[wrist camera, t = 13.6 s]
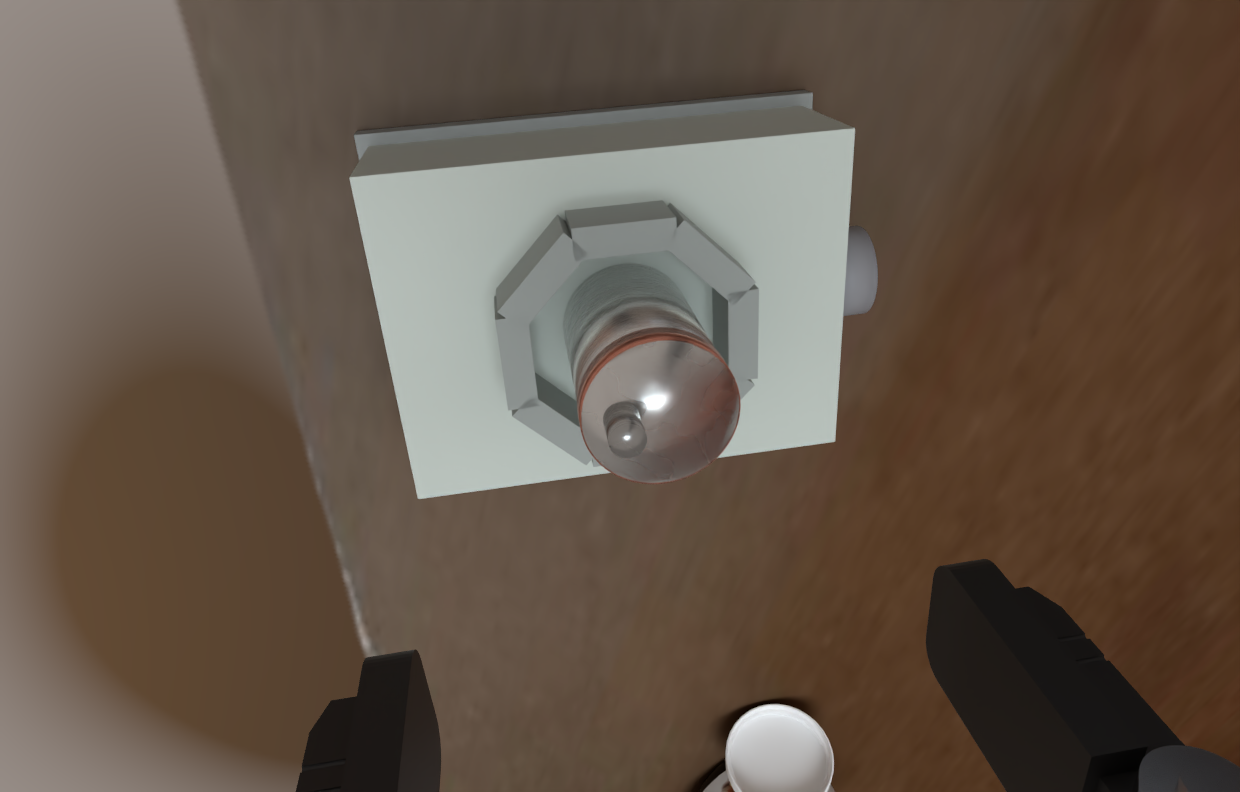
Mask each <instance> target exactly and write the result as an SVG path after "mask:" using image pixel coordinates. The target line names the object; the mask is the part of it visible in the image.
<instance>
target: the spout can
mask: <svg viewBox="0 0 1240 792" xmlns="http://www.w3.org/2000/svg"><path fill="white" fill-rule="evenodd" d="M563 333H564V339H565V344H566V349H567V355H568V360H569V365H570V370H571V375H572V380H573V385H574V390H575V395H576V400H577V412H578V418H579V424H580V429H581V433H582V437H583V440H584V442H585V444H586V447H587V449H588V450H589V452H590V453H591V455H592V456H593V458H594V459H595V460H596V461H597V462H598V463H599V464H600V465H601V466H602V467H604V468H605V469H606V470H608V471H609V472H611V473H612V474H614V475H616V476H618V477H620V478H622V479H625V480H629V481H632V482H637V483H642V484H663V483H669V482H674V481H678V480H681V479H684V478H687V477H689V476H692V475H693V474H695V473H697V472H699V471H701V470H702V469H704V468H705V467H707V466H708V465H710V464H711V463H712V462H713V461H714V460H715V459H717V457H718V456H719V455H720V454H721V453H722V452H723V451H724V450H725V448H726V447H727V445H728V444H729V443H730V441H731V439H732V437H733V435H734V433H735V430H736V428H737V425H738V421H739V417H740V408H741V403H740V394H739V388H738V385H737V383H736V380H735V378H734V376H733V374H732V372H731V370H730V369H729V367H728V366H727V364H726V362H725V361H724V359H723V358H722V356H721V355H720V354H719V352H718V351H717V350H716V349H715V347H714V345H713V344H712V342H711V340H710V339H709V337H708V335H707V334H706V332H705V330H704V329H703V327H702V325H701V324H700V322H699V320H698V319H697V317H696V315H695V314H694V312H693V310H692V309H691V307H690V306H689V304H688V302H687V301H686V299H685V297H684V296H683V294H682V292H681V291H680V289H679V288H678V286H677V285H676V284H675V283H674V282H673V281H672V280H671V279H670V278H669V277H668V276H666V275H665V274H664V273H662V272H660V271H659V270H657V269H654V268H652V267H649V266H646V265H642V264H633V263H626V264H617V265H613V266H609V267H606V268H604V269H601V270H599V271H597V272H596V273H594V274H592V275H591V276H589V277H588V278H587V279H585V280H584V281H583V282H582V283H581V284H580V285H579V286H578V288H577V289H576V290H575V291H574V293H573V294H572V296H571V298H570V299H569V302H568V304H567V306H566V310H565V313H564V319H563Z"/></svg>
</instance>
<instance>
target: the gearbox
mask: <svg viewBox="0 0 1240 792" xmlns="http://www.w3.org/2000/svg"><path fill="white" fill-rule="evenodd" d="M812 101H813V93H812V92H809V91H807V90H798V91H787V92H776V93H765V94H755V95H744V96H733V97H722V98H711V99H700V100H689V101H678V102H667V103H657V104H646V105H635V106H624V107H613V108H602V109H591V110H580V111H569V112H559V113H548V114H537V115H526V116H515V117H504V118H493V119H482V120H471V121H460V122H450V123H439V124H428V125H417V126H406V127H395V128H384V129H373V130H362V131H357V132H356V133H355V134H354V138H355V143H356V148H357V153H358V157H359V163H358V164H357V166H356V167H355V169H354V171H353V172H352V174H351V176H350V177H349V178H350V183H351V187H352V192H353V197H354V201H355V206H356V211H357V215H358V220H359V225H360V229H361V234H362V239H363V243H364V248H365V253H366V258H367V262H368V267H369V272H370V276H371V281H372V286H373V290H374V295H375V300H376V304H377V309H378V314H379V318H380V323H381V328H382V332H383V337H384V342H385V346H386V351H387V356H388V360H389V365H390V370H391V374H392V379H393V384H394V388H395V393H396V398H397V402H398V407H399V412H400V417H401V421H402V426H403V431H404V435H405V440H406V445H407V449H408V454H409V459H410V463H411V468H412V473H413V477H414V482H415V487H416V491H417V496H418V499H423V498H430V497H437V496H445V495H452V494H459V493H466V492H474V491H481V490H488V489H495V488H503V487H510V486H517V485H524V484H532V483H539V482H546V481H553V480H561V479H568V478H575V477H582V476H590V475H597V474H604V473H611V472H609V471H608V470H606V469H605V468H604V467H602V466H601V465H600V464H599V463H598V462H597V461H596V460H595V459H594V458H593V456H592V455H591V453H590V452H589V450H588V449H587V447H586V444H585V442H584V440H583V437H582V433H581V429H580V424H579V418H578V412H577V400H576V395H575V390H574V385H573V380H572V375H571V370H570V365H569V360H568V355H567V349H566V344H565V339H564V333H563V319H564V313H565V310H566V306H567V304H568V302H569V299H570V298H571V296H572V294H573V293H574V291H575V290H576V289H577V288H578V286H579V285H580V284H581V283H582V282H583V281H584V280H585V279H587V278H588V277H589V276H591V275H592V274H594V273H596V272H597V271H599V270H601V269H604V268H606V267H609V266H613V265H617V264H626V263H633V264H642V265H646V266H649V267H652V268H654V269H657V270H659V271H660V272H662V273H664V274H665V275H666V276H668V277H669V278H670V279H671V280H672V281H673V282H674V283H675V284H676V285H677V286H678V288H679V289H680V291H681V292H682V294H683V296H684V297H685V299H686V301H687V302H688V304H689V306H690V307H691V309H692V310H693V312H694V314H695V315H696V317H697V319H698V320H699V322H700V324H701V325H702V327H703V329H704V330H705V332H706V334H707V335H708V337H709V339H710V340H711V342H712V344H713V345H714V347H715V349H716V350H717V351H718V352H719V354H720V355H721V356H722V358H723V359H724V361H725V362H726V364H727V366H728V367H729V369H730V370H731V372H732V374H733V376H734V378H735V380H736V383H737V385H738V388H739V394H740V403H741V408H740V417H739V421H738V425H737V428H736V430H735V433H734V435H733V437H732V439H731V441H730V443H729V444H728V445H727V447H726V448H725V450H724V451H723V452H722V453H721V454H720V455H719V456H718V457H717V458H720V457H727V456H735V455H742V454H749V453H756V452H764V451H771V450H778V449H785V448H793V447H800V446H807V445H814V444H822V443H829V442H835V434H836V419H837V403H838V388H839V372H840V356H841V341H842V325H843V316H847V315H855V314H863V313H866V312H868V311H869V310H870V308H871V307H872V305H873V303H874V300H875V296H876V291H877V282H878V270H877V260H876V255H875V250H874V247H873V244H872V241H871V239H870V237H869V235H868V233H867V232H866V231H865V229H863V228H862V227H860V226H850V227H849V216H850V201H851V185H852V169H853V154H854V138H855V128H853V127H851V126H849V125H846V124H844V123H842V122H839V121H837V120H835V119H832V118H830V117H827V116H825V115H823V114H820V113H818V112H816V111H813V110H812Z"/></svg>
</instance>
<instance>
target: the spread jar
mask: <svg viewBox="0 0 1240 792" xmlns="http://www.w3.org/2000/svg"><path fill="white" fill-rule="evenodd" d="M833 772H834V758H833V751H832V748H831V745H830V742H829V739H828V738H827V736H826V734H825V732H824V731H823V729H822V728H821V727H820V726H819V724H818V723H817V722H816V721H815V720H814V719H812V718H811V717H810V716H809V715H808V714H806V713H804V712H803V711H801V710H799V709H797V708H794V707H791V706H789V705H783V704H766V705H761V706H758V707H755V708H753V709H751V710H749V711H748V712H746V713H745V714H743V715H742V716H741V717H740V718H739V719H738V720H737V721H736V722H735V724H734V726H733V727H732V729H731V731H730V733H729V736H728V739H727V743H726V751H725V761H724V762H722V763H721V764H720V765H719V766H718V767H716V768H715V769H714V771H713V772H712V773H711V774H710V775H709V776H708V778H707V779H706V780H705V782H704V783H703V784H702V786H701V788H700V789H699V791H698V792H835V791H834V789H833V787H832V786H831V784H830V783H831V780H832V776H833Z"/></svg>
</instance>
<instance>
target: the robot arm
mask: <svg viewBox="0 0 1240 792" xmlns="http://www.w3.org/2000/svg"><path fill="white" fill-rule="evenodd" d="M926 648H927V654H928V659H929V662H930V665H931V668H932V671H933V673H934V675H935V677H936V679H937V681H938V683H939V684H940V686H941V687H942V689H943V691H944V692H945V694H946V695H947V697H948V699H949V700H950V702H951V703H952V705H953V707H954V708H955V710H956V711H957V713H958V715H959V716H960V718H961V719H962V721H963V722H964V724H965V726H966V727H967V729H968V730H969V732H970V734H971V735H972V737H973V738H974V740H975V742H976V743H977V745H978V746H979V748H980V750H981V751H982V753H983V754H984V756H985V758H986V759H987V761H988V762H989V764H990V766H991V767H992V769H993V770H994V772H995V774H996V775H997V777H998V778H999V780H1000V782H1001V783H1002V785H1003V786H1004V788H1005V790H1006V791H1007V792H1240V768H1239V767H1238V766H1237V765H1235V764H1233V763H1232V762H1230V761H1228V760H1227V759H1225V758H1223V757H1221V756H1218V755H1216V754H1214V753H1211V752H1209V751H1206V750H1203V749H1199V748H1195V747H1191V746H1185V745H1184V744H1183V743H1182V742H1181V741H1180V740H1179V739H1178V738H1177V736H1176V735H1175V734H1174V733H1173V732H1172V731H1171V730H1170V729H1169V727H1168V726H1167V725H1166V724H1165V723H1164V722H1163V721H1162V720H1161V718H1160V717H1159V716H1158V715H1157V714H1156V713H1155V712H1154V711H1153V709H1152V708H1151V707H1150V706H1149V705H1148V704H1147V703H1146V702H1145V700H1144V699H1143V698H1142V697H1141V696H1140V695H1139V694H1138V693H1137V691H1136V690H1135V689H1134V688H1133V687H1132V686H1131V685H1130V684H1129V682H1128V681H1127V680H1126V679H1125V678H1124V677H1123V676H1122V675H1121V673H1120V672H1119V671H1118V670H1117V669H1116V668H1115V667H1114V666H1113V664H1112V663H1111V662H1110V661H1106V660H1105V658H1104V654H1103V653H1102V652H1101V651H1100V650H1099V649H1098V648H1097V646H1096V645H1095V644H1094V643H1093V642H1092V641H1091V640H1090V639H1086V637H1085V633H1084V632H1083V631H1082V630H1081V628H1080V627H1079V626H1078V625H1077V624H1076V623H1075V622H1074V621H1073V619H1072V618H1071V617H1070V616H1069V615H1068V614H1067V613H1066V612H1065V610H1064V609H1063V608H1062V607H1060V606H1059V605H1057V604H1056V603H1054V602H1052V601H1051V600H1049V599H1048V598H1046V597H1044V596H1043V595H1041V594H1040V593H1038V592H1037V591H1035V590H1033V589H1032V588H1030V587H1023V588H1017V589H1015V588H1014V587H1013V585H1012V584H1011V583H1010V582H1009V581H1008V579H1007V578H1006V577H1005V576H1004V575H1003V573H1002V572H1001V571H1000V570H999V569H998V568H997V566H996V565H995V564H994V563H993V562H991V561H990V560H987V559H981V560H975V561H969V562H962V563H956V564H950V565H944V566H939V567H938V568H937V569H936V570H935V573H934V577H933V584H932V592H931V601H930V609H929V617H928V626H927V634H926ZM440 771H441V746H440V735H439V728H438V722H437V718H436V714H435V710H434V706H433V703H432V699H431V695H430V691H429V688H428V684H427V680H426V676H425V673H424V669H423V665H422V661H421V658H420V655H419V653H418V651H417V650H410V651H404V652H398V653H392V654H386V655H380V656H373V657H367V658H366V659H365V660H364V662H363V666H362V671H361V677H360V682H359V688H358V694H357V696H356V697H350V698H344V699H339V700H332V701H330V703H329V705H328V706H327V707H326V709H325V710H324V712H323V713H322V715H321V716H320V718H319V719H318V721H317V722H316V724H315V725H314V727H313V728H312V730H311V731H310V733H309V737H308V741H307V746H306V750H305V754H304V759H303V763H302V773H300V776H299V780H298V785H297V789H296V792H439V788H440Z"/></svg>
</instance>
